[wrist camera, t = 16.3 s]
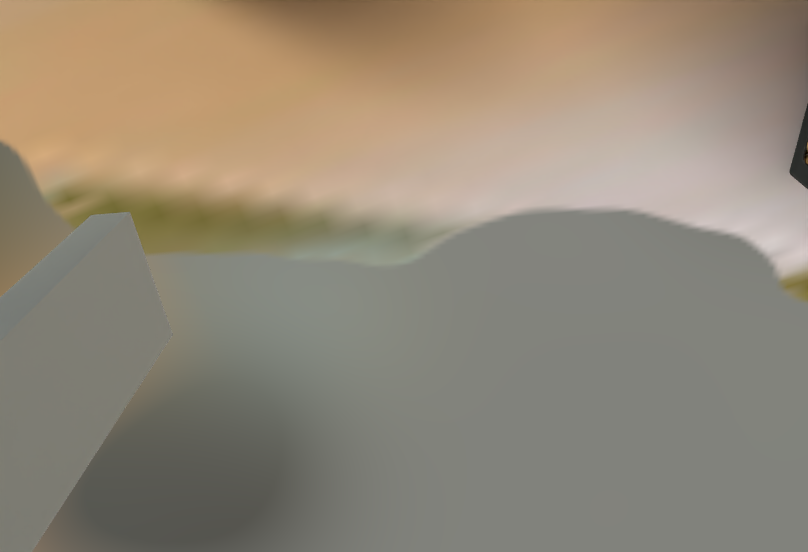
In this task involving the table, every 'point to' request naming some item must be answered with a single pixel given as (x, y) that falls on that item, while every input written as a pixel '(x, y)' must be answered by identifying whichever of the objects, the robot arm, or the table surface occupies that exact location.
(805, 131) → the ammunition clip
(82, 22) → the table surface
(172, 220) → the table surface
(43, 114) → the table surface
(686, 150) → the table surface
